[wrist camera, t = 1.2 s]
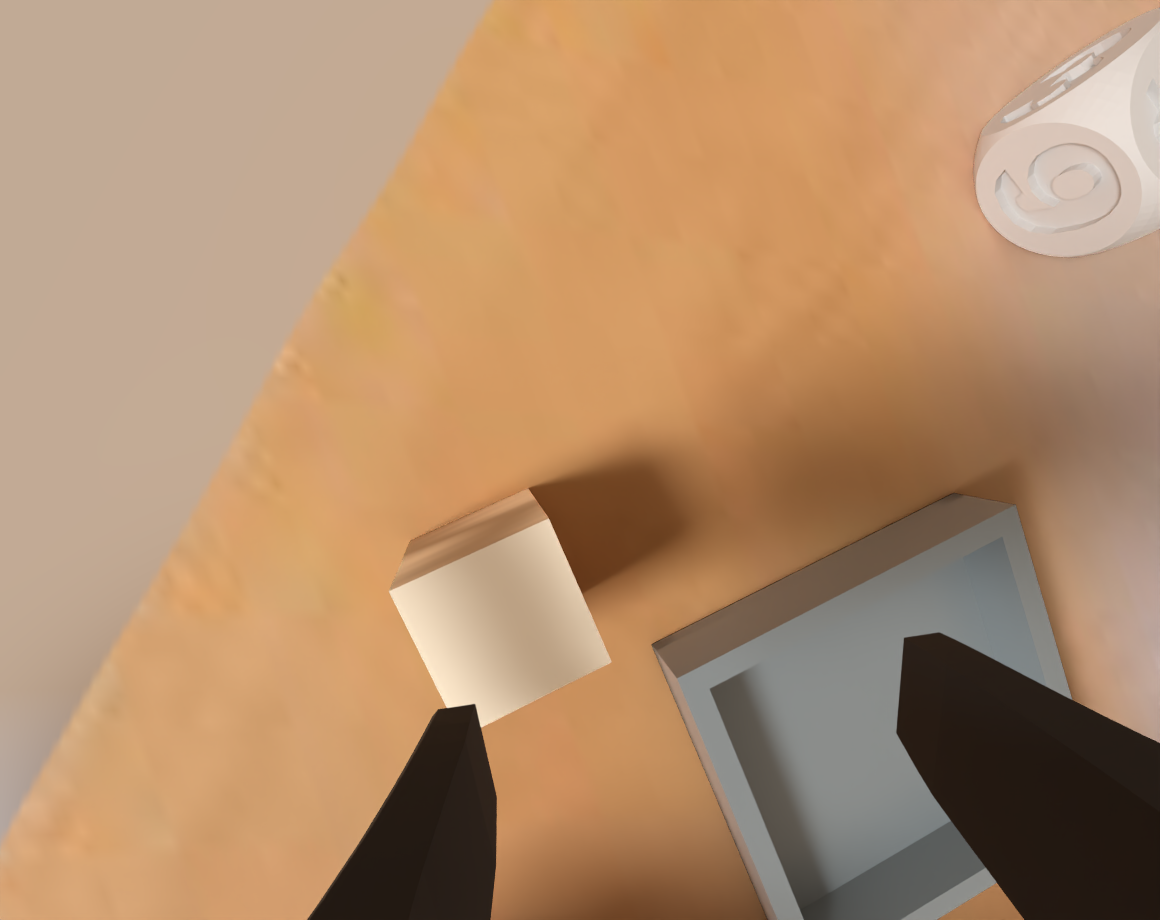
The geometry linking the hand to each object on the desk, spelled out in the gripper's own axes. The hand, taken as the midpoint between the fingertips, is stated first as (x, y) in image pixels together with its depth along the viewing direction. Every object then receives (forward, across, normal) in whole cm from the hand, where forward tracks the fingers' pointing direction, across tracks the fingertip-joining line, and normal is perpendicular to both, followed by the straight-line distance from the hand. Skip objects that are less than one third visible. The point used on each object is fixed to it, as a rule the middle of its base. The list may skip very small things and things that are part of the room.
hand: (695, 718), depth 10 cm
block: (+9, +4, +2) cm, 10 cm away
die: (+15, -16, -8) cm, 23 cm away
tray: (+9, -8, +10) cm, 16 cm away
